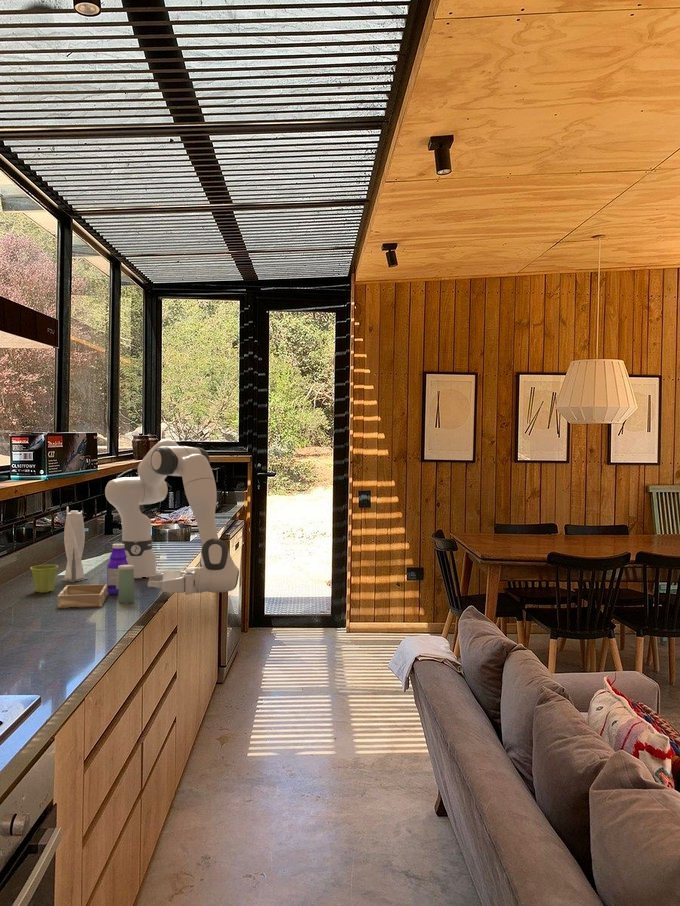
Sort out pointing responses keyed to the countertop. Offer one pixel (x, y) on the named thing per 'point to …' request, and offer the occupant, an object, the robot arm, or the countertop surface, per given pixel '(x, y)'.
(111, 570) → the bottle
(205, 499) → the robot arm
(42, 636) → the countertop surface
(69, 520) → the skyscraper
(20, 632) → the countertop surface
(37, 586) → the plant pot
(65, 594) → the crate
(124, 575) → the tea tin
